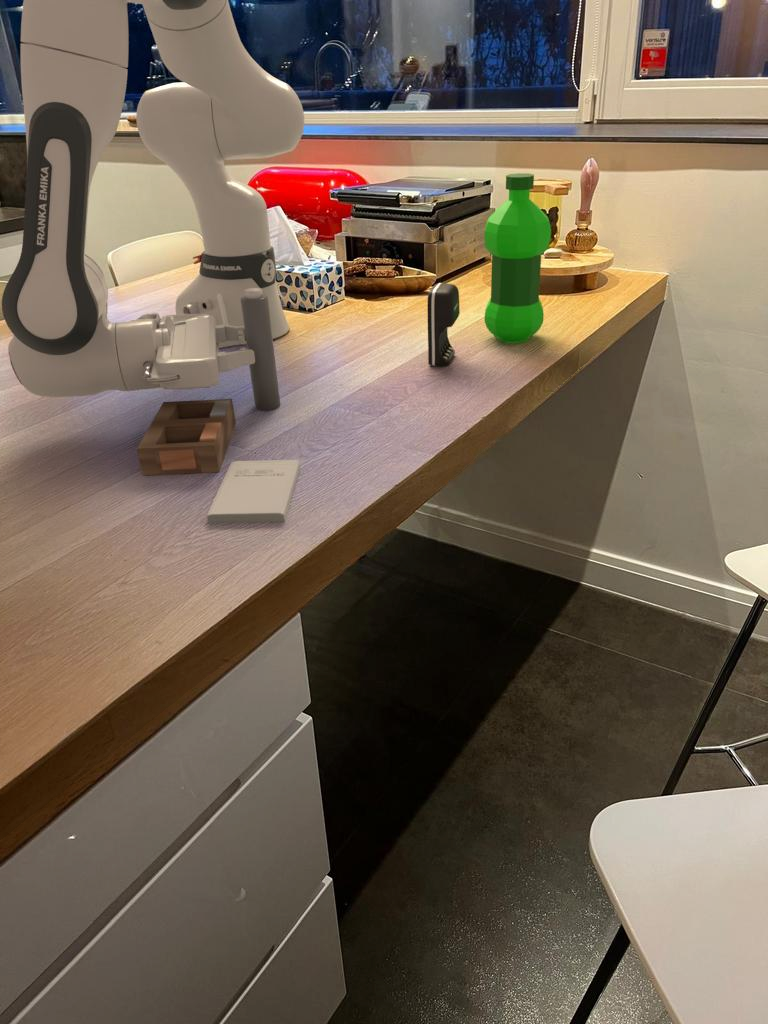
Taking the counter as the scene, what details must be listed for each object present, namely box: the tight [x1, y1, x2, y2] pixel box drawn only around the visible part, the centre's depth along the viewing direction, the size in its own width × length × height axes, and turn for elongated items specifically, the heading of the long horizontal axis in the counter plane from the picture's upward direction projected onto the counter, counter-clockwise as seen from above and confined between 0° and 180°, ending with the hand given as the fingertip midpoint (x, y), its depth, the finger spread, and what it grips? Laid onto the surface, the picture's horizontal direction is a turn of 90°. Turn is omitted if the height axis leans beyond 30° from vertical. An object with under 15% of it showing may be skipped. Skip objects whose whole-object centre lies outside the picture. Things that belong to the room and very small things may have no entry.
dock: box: [136, 398, 237, 477], centre depth 97 cm, size 14×9×4 cm, turn 1°
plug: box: [241, 288, 281, 412], centre depth 104 cm, size 4×4×16 cm
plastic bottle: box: [483, 172, 552, 344], centre depth 123 cm, size 10×10×25 cm
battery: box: [427, 282, 461, 367], centre depth 118 cm, size 7×4×11 cm, turn 165°
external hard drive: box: [206, 459, 301, 524], centre depth 87 cm, size 2×8×12 cm
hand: (252, 343), depth 104 cm, fingers open, 8 cm apart
